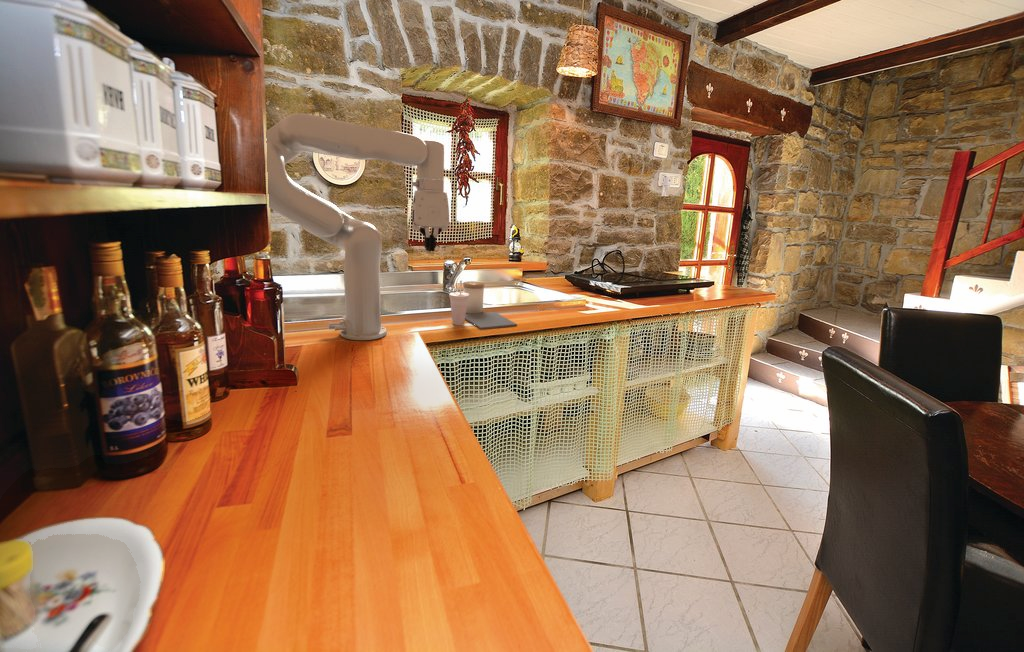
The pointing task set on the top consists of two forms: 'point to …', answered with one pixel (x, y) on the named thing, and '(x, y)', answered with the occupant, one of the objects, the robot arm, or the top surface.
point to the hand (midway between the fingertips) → (430, 250)
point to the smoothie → (458, 306)
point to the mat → (489, 320)
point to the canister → (474, 296)
